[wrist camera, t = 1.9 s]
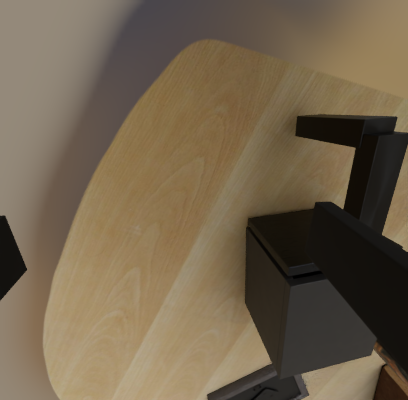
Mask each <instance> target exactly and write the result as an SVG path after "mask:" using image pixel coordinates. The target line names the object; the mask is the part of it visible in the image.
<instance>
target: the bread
mask: <svg viewBox="0 0 408 400" xmlns="http://www.w3.org/2000/svg"><path fill="white" fill-rule="evenodd" d="M374 400H408V386H407V385H406V384H405V383H404V382H403V381H402V380H401V379H400V378H399V377H398V376H397V375H396V373H395V372H394V371H393V370H392V369H391V368H390V367H389V366H388V365H385V366H384V367H383V368H382V371H381V375H380V379H379V383H378V386H377V389H376V394H375V398H374Z"/></svg>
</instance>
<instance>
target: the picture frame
mask: <svg viewBox="0 0 408 400" xmlns="http://www.w3.org/2000/svg"><path fill="white" fill-rule="evenodd" d="M207 396H208V400H301V399H303V398H305V397H307V396H309V393H308V391H307V389H306V386H305V384H304V381H303V379H302V376H301V374H298V375H294V376H290V377H287V378H283V379H279V377H278V375H277V372H276V370H275V368H274V366H273V364H270V365H268V366H266V367H264V368H262V369H260V370H258V371H256V372H254V373H252V374H250V375H248V376H246V377H243V378H241V379H239V380H237V381H235V382H233V383H231V384H229V385H227V386H225V387H223V388H221V389H219V390H217V391H214V392H212V393H210V394H208V395H207Z"/></svg>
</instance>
